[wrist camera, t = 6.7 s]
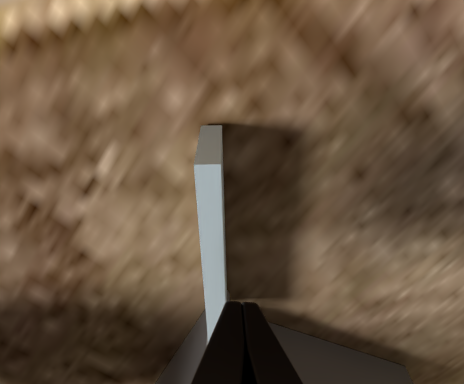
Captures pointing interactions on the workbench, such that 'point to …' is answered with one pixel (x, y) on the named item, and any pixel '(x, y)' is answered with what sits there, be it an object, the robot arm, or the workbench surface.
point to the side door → (211, 221)
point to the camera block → (294, 360)
